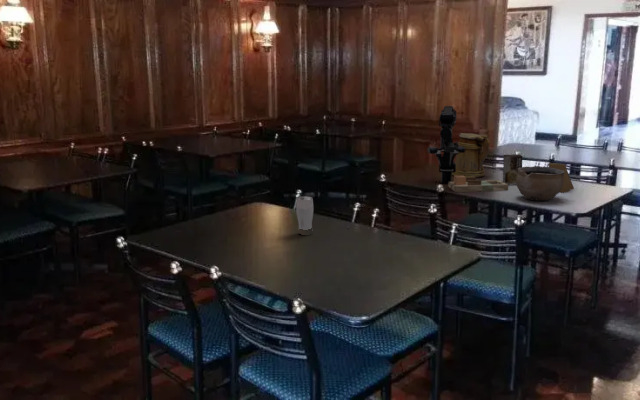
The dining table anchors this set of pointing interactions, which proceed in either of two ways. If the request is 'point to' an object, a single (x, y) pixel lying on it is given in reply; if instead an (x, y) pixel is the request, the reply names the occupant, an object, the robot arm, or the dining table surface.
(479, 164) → the tankard
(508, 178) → the coffee box
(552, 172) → the ceramic bowl
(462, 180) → the block
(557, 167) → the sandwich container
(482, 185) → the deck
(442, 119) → the robot arm
